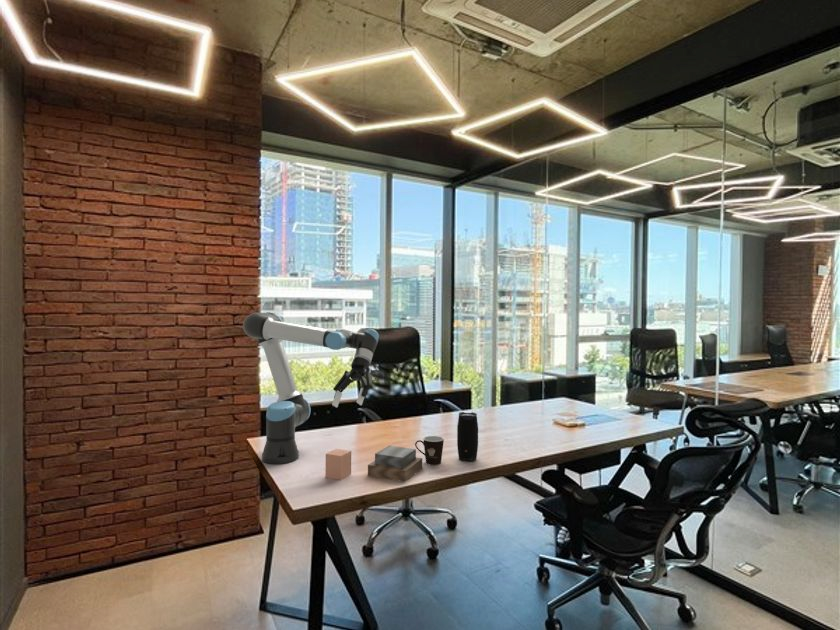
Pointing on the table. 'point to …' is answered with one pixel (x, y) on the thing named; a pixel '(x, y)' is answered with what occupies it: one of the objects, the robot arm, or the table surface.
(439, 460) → the coffee mug
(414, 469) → the block tower
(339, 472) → the terracotta brick
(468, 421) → the portable speaker
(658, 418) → the table surface
